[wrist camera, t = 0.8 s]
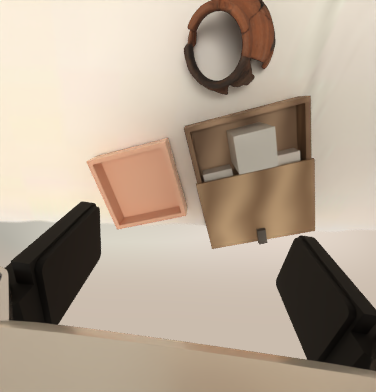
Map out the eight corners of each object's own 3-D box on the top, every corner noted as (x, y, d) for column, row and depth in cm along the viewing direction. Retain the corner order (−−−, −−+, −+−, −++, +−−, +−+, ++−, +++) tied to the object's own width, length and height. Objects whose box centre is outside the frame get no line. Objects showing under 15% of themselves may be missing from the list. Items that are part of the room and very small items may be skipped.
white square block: (293, 147, 29) (300, 150, 27) (294, 174, 31) (300, 178, 29) (268, 153, 29) (272, 156, 28) (270, 179, 31) (275, 184, 29)
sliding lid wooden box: (300, 96, 27) (316, 94, 23) (303, 219, 34) (317, 234, 31) (183, 126, 29) (181, 129, 25) (210, 237, 36) (212, 252, 33)
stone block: (259, 121, 28) (275, 126, 22) (262, 154, 30) (278, 166, 24) (226, 130, 28) (233, 136, 23) (231, 161, 30) (239, 174, 25)
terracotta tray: (167, 138, 30) (164, 141, 27) (187, 206, 34) (186, 215, 31) (96, 156, 31) (86, 161, 28) (123, 219, 35) (117, 229, 33)
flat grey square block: (229, 164, 30) (231, 168, 28) (233, 185, 32) (235, 191, 30) (202, 170, 31) (202, 175, 29) (207, 191, 32) (208, 197, 30)
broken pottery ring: (266, 93, 27) (247, 106, 22) (203, 79, 31) (172, 88, 25) (307, -44, 20) (294, -79, 14) (217, -42, 23) (177, -70, 17)
